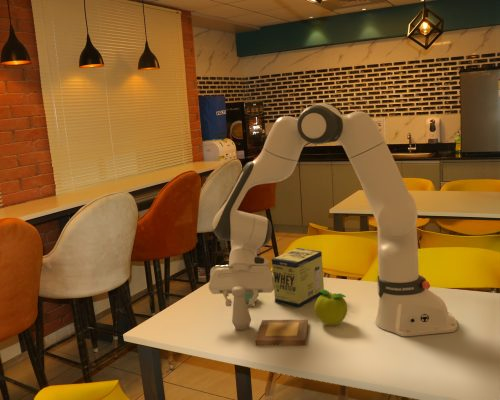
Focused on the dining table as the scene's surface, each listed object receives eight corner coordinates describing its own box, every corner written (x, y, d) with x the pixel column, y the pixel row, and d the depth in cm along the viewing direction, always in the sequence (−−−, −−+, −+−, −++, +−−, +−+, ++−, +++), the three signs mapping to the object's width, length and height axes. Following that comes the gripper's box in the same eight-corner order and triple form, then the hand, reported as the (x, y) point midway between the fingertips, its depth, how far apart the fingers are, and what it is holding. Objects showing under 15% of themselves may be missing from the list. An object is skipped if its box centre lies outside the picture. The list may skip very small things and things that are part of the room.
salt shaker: (241, 322, 161) (237, 282, 159) (255, 325, 157) (252, 285, 155) (229, 329, 157) (225, 288, 154) (243, 333, 153) (239, 291, 151)
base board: (308, 324, 155) (307, 318, 155) (305, 345, 142) (305, 339, 141) (262, 324, 158) (262, 319, 158) (255, 345, 144) (255, 339, 144)
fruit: (328, 315, 161) (326, 284, 159) (353, 322, 154) (351, 290, 152) (309, 325, 154) (307, 293, 153) (335, 333, 148) (333, 300, 146)
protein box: (274, 302, 175) (270, 258, 172) (300, 288, 187) (297, 247, 184) (299, 308, 168) (295, 262, 166) (325, 293, 180) (322, 250, 177)
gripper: (208, 261, 162) (204, 302, 154) (272, 258, 159) (271, 300, 151) (213, 270, 167) (209, 310, 159) (275, 268, 164) (274, 309, 156)
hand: (239, 305), depth 155 cm, fingers open, 6 cm apart
